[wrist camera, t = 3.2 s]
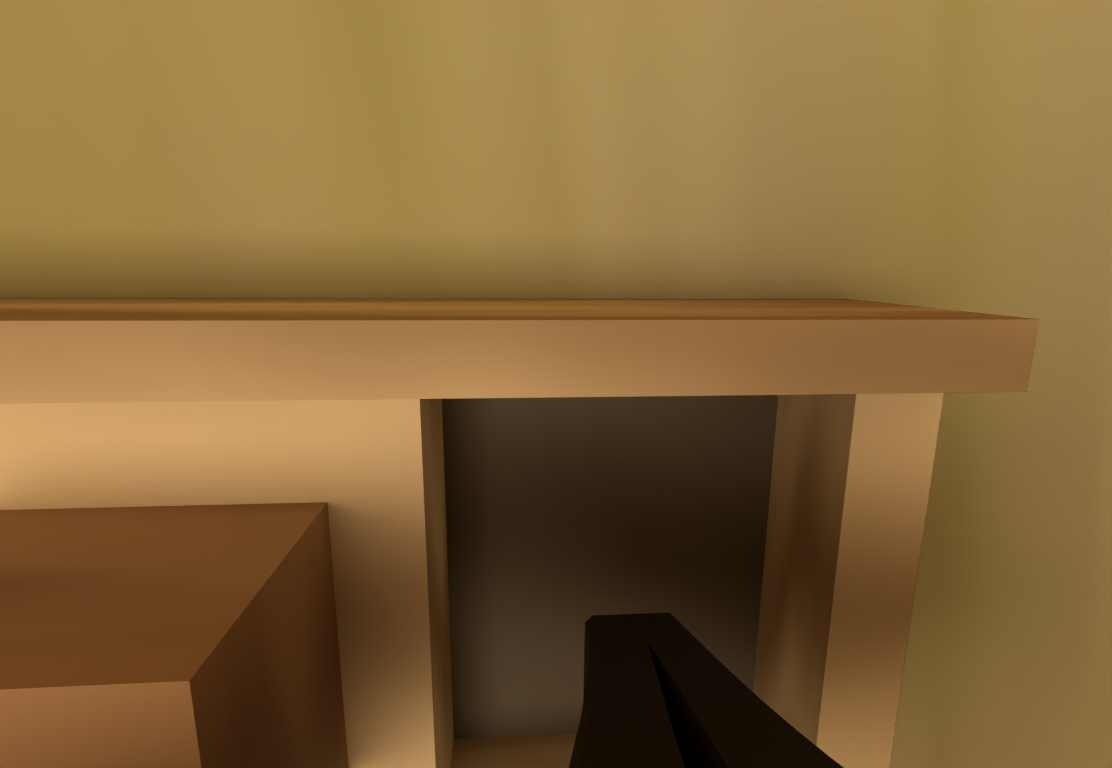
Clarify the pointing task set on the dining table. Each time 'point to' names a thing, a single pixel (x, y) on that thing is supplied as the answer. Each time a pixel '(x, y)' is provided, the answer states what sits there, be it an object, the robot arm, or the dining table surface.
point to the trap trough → (533, 483)
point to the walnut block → (169, 638)
